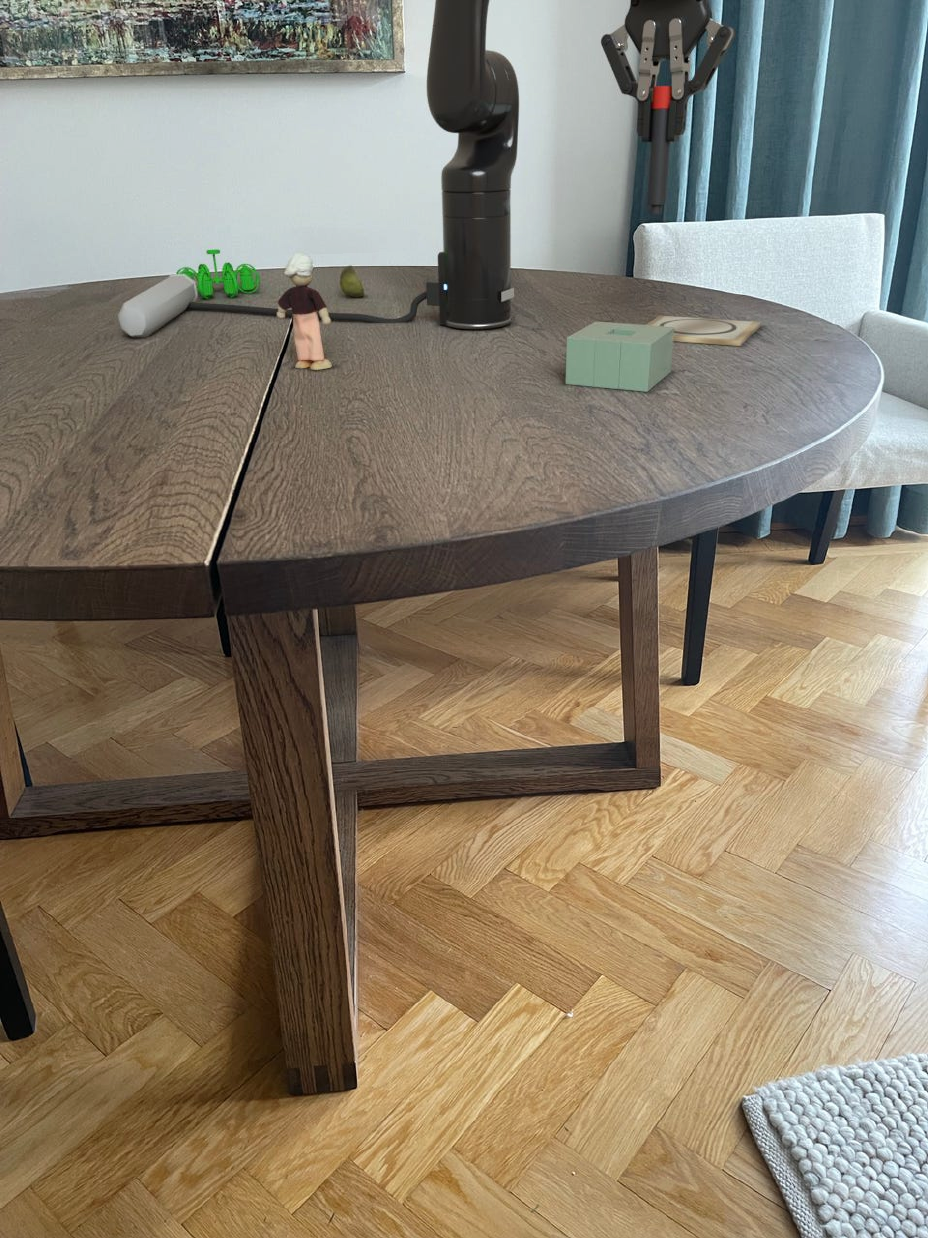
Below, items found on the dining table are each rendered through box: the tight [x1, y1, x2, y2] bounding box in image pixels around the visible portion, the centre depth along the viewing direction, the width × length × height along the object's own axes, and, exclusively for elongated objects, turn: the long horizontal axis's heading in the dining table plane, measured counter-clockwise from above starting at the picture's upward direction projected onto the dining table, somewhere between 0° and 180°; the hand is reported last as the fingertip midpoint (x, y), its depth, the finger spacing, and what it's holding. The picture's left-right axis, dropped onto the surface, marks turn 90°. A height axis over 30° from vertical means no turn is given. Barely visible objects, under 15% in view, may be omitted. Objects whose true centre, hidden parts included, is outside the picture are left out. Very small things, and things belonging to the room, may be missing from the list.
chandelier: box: [175, 249, 261, 300], centre depth 159 cm, size 15×15×7 cm
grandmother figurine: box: [276, 253, 333, 371], centre depth 108 cm, size 8×4×13 cm, turn 71°
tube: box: [117, 273, 199, 339], centre depth 137 cm, size 5×5×25 cm
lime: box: [339, 265, 365, 298], centre depth 152 cm, size 4×5×5 cm
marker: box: [646, 85, 673, 216], centre depth 97 cm, size 2×2×12 cm
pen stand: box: [565, 321, 674, 393], centre depth 102 cm, size 9×9×5 cm
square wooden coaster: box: [645, 315, 762, 347], centre depth 123 cm, size 14×13×1 cm
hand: (660, 140), depth 97 cm, fingers closed on marker, 2 cm apart
